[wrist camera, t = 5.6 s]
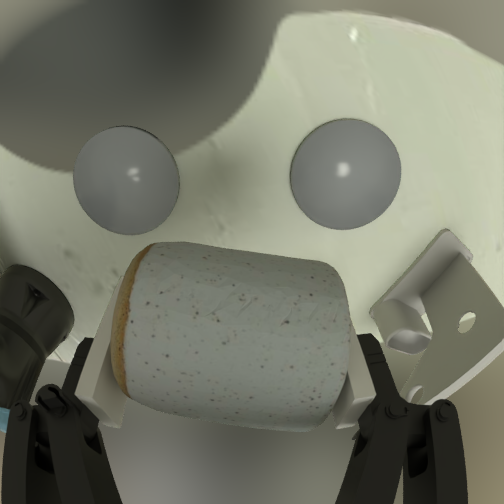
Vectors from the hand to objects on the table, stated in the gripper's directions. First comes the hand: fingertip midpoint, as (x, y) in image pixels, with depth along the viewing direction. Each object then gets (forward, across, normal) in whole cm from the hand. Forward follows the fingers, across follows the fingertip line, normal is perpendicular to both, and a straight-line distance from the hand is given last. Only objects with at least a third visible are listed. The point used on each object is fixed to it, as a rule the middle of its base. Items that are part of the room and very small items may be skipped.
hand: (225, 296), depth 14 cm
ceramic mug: (+1, 0, -1) cm, 2 cm away
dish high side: (+17, +12, 0) cm, 21 cm away
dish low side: (+17, -11, 0) cm, 21 cm away
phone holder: (+17, +27, -16) cm, 35 cm away
